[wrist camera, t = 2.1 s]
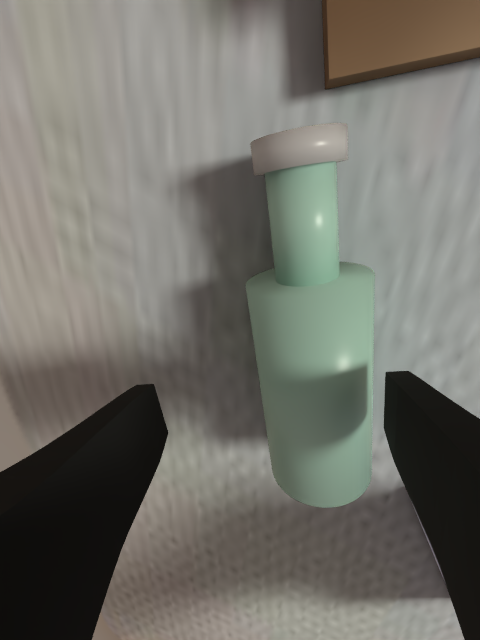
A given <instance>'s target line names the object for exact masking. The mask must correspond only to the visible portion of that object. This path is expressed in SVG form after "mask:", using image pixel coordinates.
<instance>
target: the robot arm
mask: <svg viewBox="0 0 480 640" xmlns="http://www.w3.org/2000/svg"><path fill="white" fill-rule="evenodd" d="M384 430H385V434H386V437H387V440H388V444H389V447H390V450H391V453H392V457H393V460H394V462H395V465H396V467H397V469H398V472H399V474H400V476H401V479H402V481H403V483H404V485H405V488H406V490H407V492H408V494H409V497H410V499H411V502H412V504H413V507H414V509H415V512H416V514H417V516H418V519H419V521H420V524H421V526H422V528H423V531H424V533H425V536H426V538H427V541H428V543H429V545H430V548H431V550H432V553H433V555H434V557H435V560H436V562H437V565H438V567H439V570H440V572H441V574H442V577H443V579H444V582H445V584H446V586H447V589H448V592H449V595H450V598H451V601H452V603H453V606H454V609H455V612H456V615H457V618H458V621H459V624H460V627H461V630H462V633H463V636H464V639H465V640H480V419H479V418H477V417H476V416H474V415H473V414H471V413H470V412H468V411H467V410H465V409H464V408H462V407H461V406H459V405H458V404H456V403H455V402H453V401H452V400H450V399H449V398H447V397H446V396H444V395H443V394H441V393H440V392H439V391H437V390H436V389H434V388H433V387H431V386H430V385H429V384H427V383H426V382H424V381H423V380H421V379H420V378H418V377H417V376H415V375H414V374H412V373H411V372H409V371H397V372H386V377H385V407H384ZM167 436H168V430H167V427H166V423H165V420H164V417H163V413H162V410H161V407H160V403H159V400H158V397H157V393H156V390H155V386H154V384H146V385H136V386H134V387H132V388H131V389H129V390H127V391H126V392H124V393H123V394H121V395H120V396H118V397H117V398H116V399H114V400H113V401H111V402H110V403H108V404H107V405H106V406H104V407H103V408H101V409H100V410H98V411H97V412H95V413H94V414H93V415H91V416H90V417H88V418H87V419H85V420H84V421H83V422H81V423H80V424H78V425H77V426H75V427H74V428H72V429H71V430H69V431H68V432H66V433H65V434H63V435H61V436H60V437H58V438H57V439H55V440H54V441H52V442H51V443H49V444H48V445H46V446H45V447H43V448H41V449H40V450H38V451H37V452H35V453H33V454H32V455H30V456H28V457H26V458H25V459H23V460H21V461H19V462H18V463H16V464H14V465H12V466H11V467H9V468H7V469H6V470H4V471H2V472H0V640H92V637H93V633H94V630H95V627H96V624H97V621H98V618H99V615H100V612H101V608H102V605H103V602H104V599H105V596H106V593H107V590H108V587H109V584H110V581H111V578H112V575H113V572H114V569H115V566H116V564H117V561H118V558H119V555H120V552H121V549H122V547H123V544H124V542H125V539H126V537H127V534H128V532H129V530H130V528H131V525H132V523H133V521H134V519H135V517H136V514H137V512H138V510H139V508H140V505H141V503H142V501H143V499H144V497H145V494H146V492H147V490H148V488H149V485H150V483H151V481H152V479H153V476H154V474H155V472H156V469H157V467H158V465H159V462H160V459H161V456H162V453H163V450H164V446H165V443H166V439H167Z"/></svg>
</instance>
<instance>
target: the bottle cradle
mask: <svg viewBox="0 0 480 640" xmlns="http://www.w3.org/2000/svg"><path fill="white" fill-rule="evenodd" d="M322 15H323V42H324V69H325V89H330V88H334V87H339V86H344V85H349V84H353V83H358V82H363V81H368V80H373V79H377V78H382V77H387V76H392V75H396V74H401V73H406V72H411V71H415V70H420V69H425V68H430V67H435V66H439V65H444V64H449V63H454V62H458V61H463V60H468V59H473V58H478V57H480V0H322Z"/></svg>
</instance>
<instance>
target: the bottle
mask: <svg viewBox="0 0 480 640" xmlns="http://www.w3.org/2000/svg"><path fill="white" fill-rule="evenodd" d="M250 145H251V153H252V162H253V170H254V175H265V183H266V192H267V202H268V211H269V221H270V230H271V239H272V249H273V258H274V267H275V268H274V269H270V270H267V271H264V272H262V273H259V274H257V275H255V276H253V277H252V278H250V279H249V280H248V281H247V282H246V285H245V286H246V293H247V300H248V307H249V314H250V321H251V328H252V334H253V341H254V348H255V355H256V362H257V369H258V376H259V383H260V390H261V397H262V403H263V410H264V417H265V424H266V431H267V438H268V445H269V452H270V459H271V465H272V471H273V475H274V478H275V480H276V482H277V483H278V485H279V486H280V487H281V489H282V490H283V491H284V492H285V493H287V494H288V495H289V496H290V497H292V498H294V499H295V500H297V501H299V502H301V503H303V504H307V505H310V506H314V507H321V508H333V507H339V506H343V505H346V504H348V503H351V502H353V501H354V500H356V499H357V498H359V497H360V496H361V495H362V494H363V493H364V492H365V491H366V489H367V487H368V486H369V484H370V480H371V475H372V419H373V349H374V280H375V274H374V271H373V270H372V269H371V268H369V267H367V266H364V265H360V264H356V263H349V262H339V237H338V202H337V167H336V163H337V162H341V161H345V160H348V134H347V124H344V123H329V124H320V125H312V126H306V127H301V128H295V129H291V130H286V131H282V132H278V133H274V134H271V135H267V136H264V137H261V138H259V139H256V140H254V141H252V142H251V143H250Z"/></svg>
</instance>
